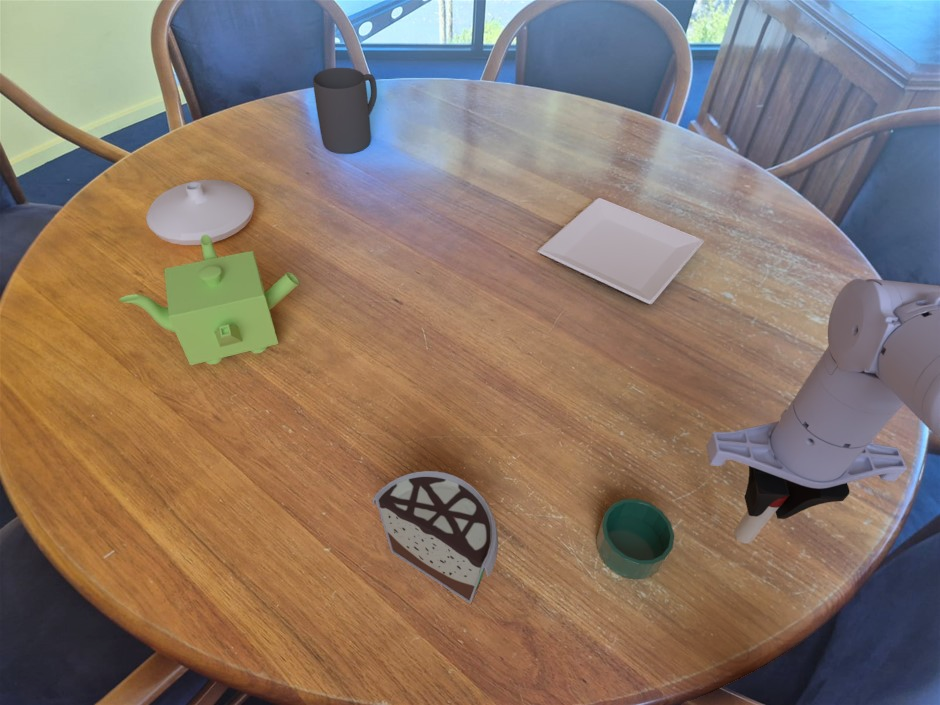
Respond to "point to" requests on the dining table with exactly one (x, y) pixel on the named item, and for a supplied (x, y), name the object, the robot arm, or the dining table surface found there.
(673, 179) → the dining table surface
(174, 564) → the dining table surface
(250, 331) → the kettle
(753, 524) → the marker
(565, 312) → the dining table surface
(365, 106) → the mug
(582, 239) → the plate
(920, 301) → the robot arm
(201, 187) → the grey lid
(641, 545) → the thermos cup
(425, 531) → the cake slice
